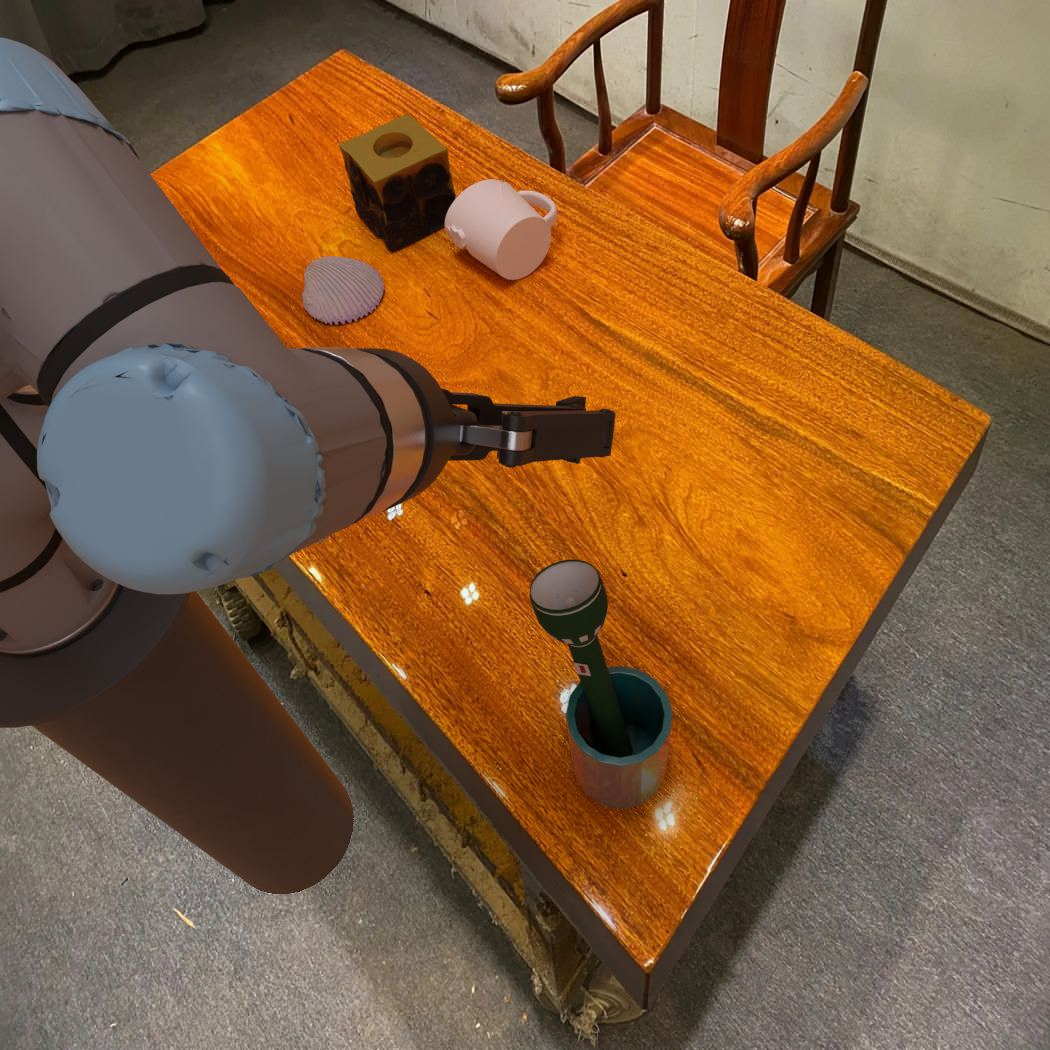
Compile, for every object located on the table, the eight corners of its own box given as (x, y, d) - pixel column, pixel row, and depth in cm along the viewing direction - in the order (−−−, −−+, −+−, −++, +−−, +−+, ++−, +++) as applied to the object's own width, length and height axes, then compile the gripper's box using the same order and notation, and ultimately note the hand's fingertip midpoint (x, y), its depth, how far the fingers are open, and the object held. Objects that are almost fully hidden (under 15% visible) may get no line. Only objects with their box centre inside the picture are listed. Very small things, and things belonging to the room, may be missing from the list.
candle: (391, 254, 114) (373, 184, 106) (354, 214, 119) (334, 144, 111) (462, 220, 117) (449, 149, 108) (422, 182, 122) (408, 111, 114)
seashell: (326, 234, 112) (387, 242, 107) (344, 272, 116) (403, 282, 111) (271, 284, 108) (331, 296, 102) (292, 322, 112) (351, 335, 106)
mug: (494, 295, 108) (485, 239, 102) (449, 255, 113) (439, 199, 106) (575, 248, 112) (572, 191, 105) (528, 212, 116) (522, 155, 110)
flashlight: (581, 779, 74) (515, 606, 62) (603, 728, 78) (544, 554, 65) (641, 793, 72) (585, 616, 60) (661, 740, 75) (612, 561, 63)
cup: (608, 827, 73) (605, 785, 65) (555, 750, 77) (546, 701, 69) (686, 774, 75) (693, 727, 66) (630, 701, 79) (631, 648, 70)
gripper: (101, 479, 45) (301, 437, 65) (616, 557, 40) (657, 485, 60) (102, 320, 43) (306, 328, 63) (639, 381, 38) (673, 368, 58)
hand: (477, 404), depth 62 cm, fingers open, 13 cm apart
